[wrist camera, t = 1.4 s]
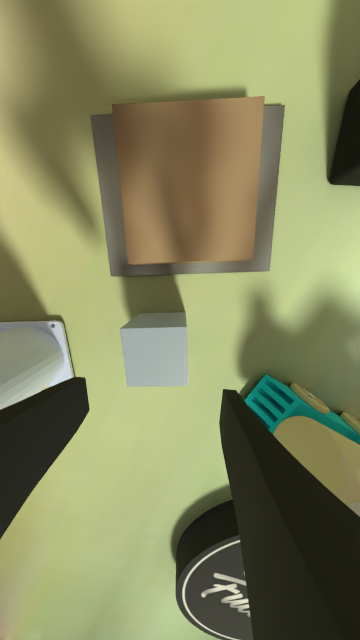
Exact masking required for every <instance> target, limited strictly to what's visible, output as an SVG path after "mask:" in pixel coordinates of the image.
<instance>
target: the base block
mask: <svg viewBox="0 0 360 640" xmlns="http://www.w3.org/2000/svg"><path fill="white" fill-rule="evenodd" d="M264 97H265V96H260V97H242V98H223V99H205V100H186V101H168V102H150V103H131V104H113V105H112V109H113V114H106V115H91V122H92V130H93V138H94V146H95V154H96V161H97V169H98V177H99V185H100V193H101V201H102V209H103V217H104V225H105V233H106V241H107V249H108V257H109V265H110V273H111V276H139V275H169V274H199V273H230V272H260V271H270V260H271V249H272V238H273V227H274V216H275V206H276V195H277V184H278V173H279V162H280V152H281V141H282V130H283V119H284V108H285V105H276V106H264Z"/></svg>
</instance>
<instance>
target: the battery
mask: <svg viewBox="0 0 360 640" xmlns="http://www.w3.org/2000/svg"><path fill="white" fill-rule="evenodd" d="M330 183H331V184H333V185H351V186H360V80H359V81H358V82H357V83H356V84H355V85H354V87H353V88H352V89H351V90H350V92H349V95H348V99H347V103H346V108H345V112H344V117H343V121H342V126H341V130H340V135H339V139H338V144H337V148H336V153H335V157H334V162H333V167H332V171H331V176H330Z"/></svg>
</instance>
